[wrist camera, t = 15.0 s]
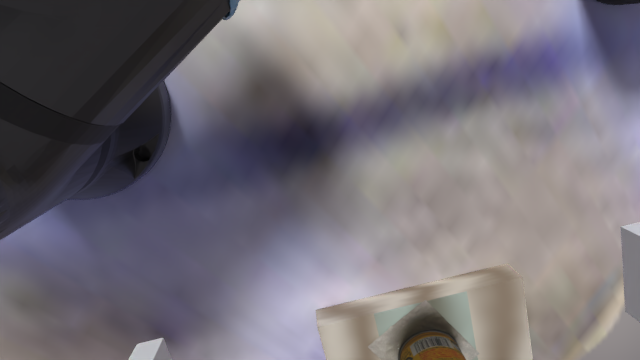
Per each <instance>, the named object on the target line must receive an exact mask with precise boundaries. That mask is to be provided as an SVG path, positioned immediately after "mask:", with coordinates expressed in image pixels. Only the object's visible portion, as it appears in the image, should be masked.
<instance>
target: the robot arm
mask: <svg viewBox="0 0 640 360" xmlns="http://www.w3.org/2000/svg"><path fill="white" fill-rule="evenodd" d="M239 1H240V0H0V240H1V239H3V238H4V237H6V236H8V235H9V234H11V233H13V232H14V231H16V230H17V229H19V228H21V227H22V226H24V225H26V224H27V223H29V222H31V221H32V220H34V219H35V218H37V217H39V216H40V215H42V214H44V213H45V212H47V211H49V210H50V209H52V208H53V207H55V206H57V205H58V204H60V203H62V202H63V201H65V200H85V199H95V198H100V197H104V196H108V195H111V194H114V193H116V192H119V191H121V190H123V189H125V188H126V187H128V186H130V185H131V184H133V183H134V182H135V181H137V180H138V179H140V178H141V177H142V176H143V175H145V174H146V173H147V172H148V171H149V170H150V169H151V168H152V167H153V166H154V164H155V163H156V162H157V160H158V159H159V157H160V155H161V154H162V152H163V150H164V147H165V145H166V142H167V139H168V135H169V130H170V122H171V111H170V102H169V97H168V93H167V90H166V87H165V84H164V79H165V78H166V77H167V76H168V75H169V74H170V73H171V72H172V71H173V70H174V69H175V68H176V67H177V66H178V65H179V64H180V63H181V62H182V61H183V60H184V58H185V57H186V56H187V55H188V54H189V53H190V52H191V51H192V50H193V49H194V48H195V47H196V46H197V45H198V44H199V43H200V42H201V41H202V40H203V39H204V37H205V36H206V35H207V34H208V33H209V32H210V31H211V30H212V29H213V28H214V27H215V26H216V25H217V24H218V23H219V22H220V21H221V20H222V19H223V20H228V19H230V18H231V17H232V16H233V15H234V13H235V10H236V8H237V6H238V2H239ZM621 240H622V259H623V278H624V297H625V312H627V313H628V314H629V315H631V316H632V317H633V318H635V319H636V320H637V321H639V322H640V222H638V223H634V224H630V225H625V226H621ZM128 360H172V358H171V355H170V353H169V350H168V348H167V345H166V343H165V340H164V338H159V339H155V340H151V341H147V342H143V343H139V344H137V345H136V347H135V349H134V350H133V352H132V354H131V356H130V358H129V359H128Z"/></svg>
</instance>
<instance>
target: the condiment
mask: <svg viewBox="0 0 640 360" xmlns="http://www.w3.org/2000/svg"><path fill="white" fill-rule="evenodd" d="M368 348H369V349H370V350H371V351H372V352H373V353H375V354H376V355H377V356H378V357H379V358H380V359H381V360H472V359H474V358H475V357H476V356H477V355H479V354H480V353H479V352H478V351H477V350H476V349H475V348H474V347H473V346H472V345H471V344H470V343H469V342H468V341H467V340H466V339H465V338H464V337H463V336H462V335H461V334H460V333H459V332H458V331H457V330H456V329H455V328H454V327H453V326H452V325H451V324H449V323H448V322H447V321H446V319H445V318H444V317H443V316H442V315H441V314H440V313H439V312H438V311H437V310H436V309H434V308H433V307H432V306H431V305H430V304H429V303H428V302H427V301H426V300H425V301H423V302H422V303H421V304H420V305H418V306H416V307H415V308H414V309H412V310H411V311H410V312H409V313H408V314H406V315H405V316H403V317H402V318H401V319H400V320H399V321H397V322H396V323H395V324H394V325H393V326H390V328H389V329H388V330H387V331H386V332H385V333H383V334H382V335H381V336H379V337H378V338H377V339H376V340H375V341H374V342H373V343H372V344H370V345H369V346H368ZM398 348H399V349H398Z"/></svg>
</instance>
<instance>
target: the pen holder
mask: <svg viewBox="0 0 640 360" xmlns="http://www.w3.org/2000/svg"><path fill="white" fill-rule="evenodd" d="M597 1H600V2H602V3H606V4H612V5H622V4H634V3H640V0H597Z"/></svg>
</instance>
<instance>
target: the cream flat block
mask: <svg viewBox="0 0 640 360" xmlns="http://www.w3.org/2000/svg"><path fill="white" fill-rule="evenodd" d="M425 300H426V301H427V302H428V303H429V304H430V305H431V306H432V307H433V308H434V309H436V310H437V311H438V312H439V313H440V314H441V315H442V316H443V317H444V318H445V319H446V321H447V322H448V323H449V324H451V325H452V326H453V327H454V328H455V329H456V330H457V331H458V332H459V333H460V334H461V335H462V336H463V337H464V338H465V339H466V340H467V341H468V342H469V343H470V344H471V345H472V346H473V347H474V348H475V349H476V350H477V351H478V352H479V353H480V354H479V355H477V356H476V357H475V358H474V359H472V360H533V357H532V349H531V341H530V333H529V325H528V317H527V308H526V300H525V292H524V284H523V277H522V276H520V275H519V274H518V273H517V272H516V271H515V270H514V269H513V268H512V267H511V266H510V265H509V264H504V265H500V266H496V267H491V268H487V269H483V270H479V271H475V272H471V273H467V274H463V275H458V276H454V277H450V278H446V279H442V280H438V281H434V282H430V283H425V284H421V285H417V286H413V287H409V288H405V289H401V290H397V291H392V292H388V293H384V294H380V295H376V296H372V297H368V298H364V299H359V300H355V301H351V302H347V303H343V304H339V305H335V306H331V307H326V308H322V309H318V310H316V316H317V327H318V331H319V335H320V338H321V342H322V345H323V349H324V353H325V356H326V360H381V359H380V358H379V357H378V356H377V355H376V354H375V353H373V352H372V351H371V350H370V349H369V348H368V346H369V345H370V344H372V343H373V342H374V341H375V340H376V339H377V338H378V337H379V336H381V335H382V334H383V333H385V332H386V331H387V330H388V329H389V328H390V326H393V325H394V324H395V323H396V322H397V321H399V320H400V319H401V318H402V317H403V316H405V315H406V314H408V313H409V312H410V311H411V310H412V309H414V308H415V307H416V306H418V305H420V304H421V303H422V302H423V301H425ZM398 349H399V348H398Z"/></svg>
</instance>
